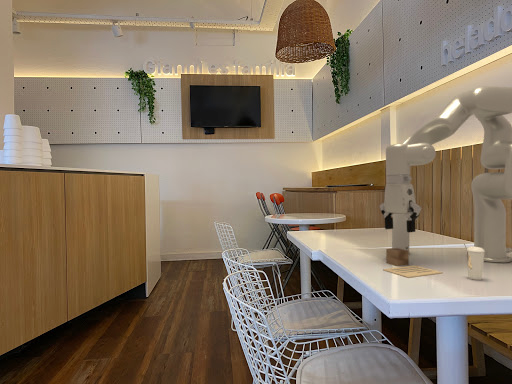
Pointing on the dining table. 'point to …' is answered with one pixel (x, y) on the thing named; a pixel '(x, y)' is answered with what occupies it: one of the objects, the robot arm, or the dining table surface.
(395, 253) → the walnut block
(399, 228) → the travel mug
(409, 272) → the letter
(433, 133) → the robot arm
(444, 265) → the dining table surface
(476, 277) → the milkshake
